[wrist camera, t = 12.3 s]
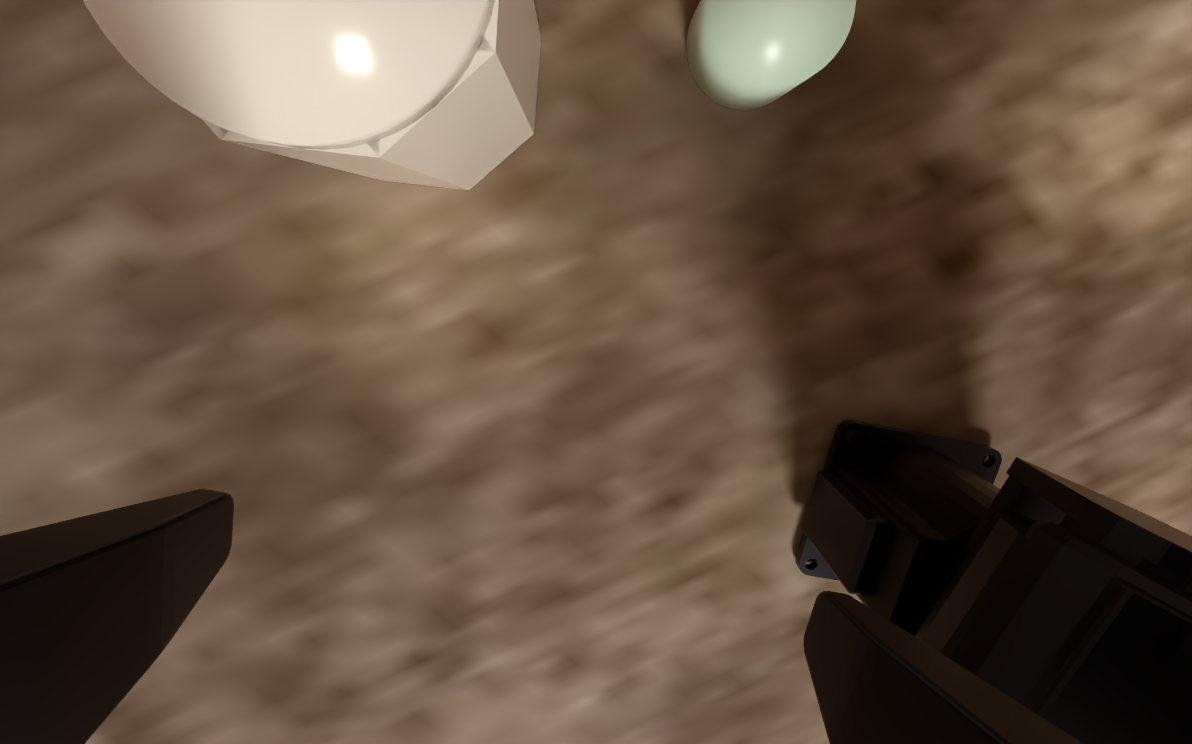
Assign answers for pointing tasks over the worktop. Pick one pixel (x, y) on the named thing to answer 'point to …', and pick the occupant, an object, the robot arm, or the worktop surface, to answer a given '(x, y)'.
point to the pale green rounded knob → (763, 46)
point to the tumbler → (346, 78)
